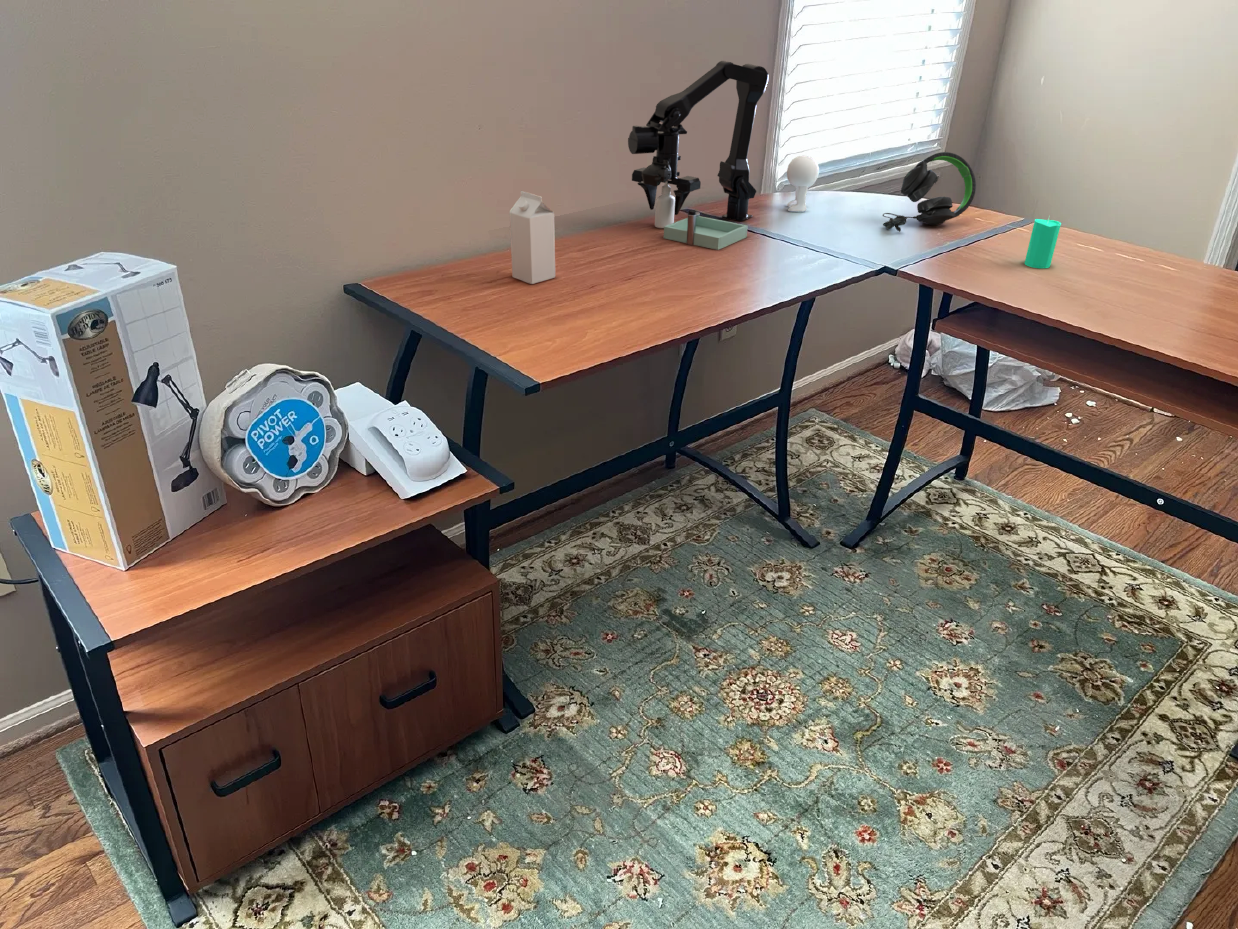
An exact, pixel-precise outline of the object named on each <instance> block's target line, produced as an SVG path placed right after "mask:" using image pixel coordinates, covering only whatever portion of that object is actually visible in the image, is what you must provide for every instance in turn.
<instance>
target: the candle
mask: <svg viewBox="0 0 1238 929" xmlns="http://www.w3.org/2000/svg"><path fill="white" fill-rule="evenodd" d="M1050 216H1051V215H1050V214H1049V215H1048V219H1042V218H1035V219H1034V221H1033V226H1032V230H1031V234H1030V239H1029V243H1028V247H1027V251H1026V255H1025V259H1024V263H1023V264H1024V265H1025V266H1027V267H1029V268H1032V269H1033V268H1034V269H1039V270H1040V269H1044V270H1045V269H1050V268H1051V265H1052V261H1053V257H1054V254H1055V250H1056V246H1057V243H1058V242H1057V241H1058V238H1059V233H1060V230H1061V226H1062V222H1061V221H1058V220H1054V219H1050Z"/></svg>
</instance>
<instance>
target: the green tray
mask: <svg viewBox="0 0 1238 929" xmlns="http://www.w3.org/2000/svg"><path fill="white" fill-rule="evenodd" d="M687 222H688V217H685V218H682V219H680V220H678V221H674V223H672V224H669V225H667V226H664V228H663V239H665V240H670V241H675V242H679V243H684V244H686V242H687ZM748 228H749V227H748V225H747V224H742V223H736V222H731V221H727V220H721V219H717V218H713V217H705V216H702V215H700V216H699V217H697V218H696V232H695V233H694V245H693V246H698V247H702V248H706V249H711V250H715V251H716V250H717V251H719V250H722V249H723V248H726V247H728V246H730V245H732V244H734V243H737V242H739V241H742V240H744V239H746V238H748Z"/></svg>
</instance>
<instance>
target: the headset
mask: <svg viewBox="0 0 1238 929" xmlns="http://www.w3.org/2000/svg"><path fill="white" fill-rule="evenodd" d="M936 161H944V162H947V163H949V164H951V165H953V166H954V167H955V168H957V170H958V172H959V174H960V176H961V178H963V181H964V195H963V199H962V201H961V203H960V204H959V205H958V207H956V209H955V210H954V211H952V210H951V208H953V200H952V198H951V197H950V196H936V197H932V198H928V199H927V198H926V199H924V200H922V199H923V198H924V197H925V196H926V195H927V194H929V193H928V192H930V191H931V189H932V187H933V186H934V185H935V184H936V183H937V182H938V181H939V179H940V178H939V177H940V176H939V175H937V173H936V172H935V171H933V170H932V169H928V163H930V162H936ZM976 190H977V182H976V176H975V173H974V170H973V168H972V167H971V165H970V164H969V163H968V161H966V159H965V158H964V157H962V156H961V155H958V154H956V153H954V152H949V151H940V152H937V153H933V154H931V155H929V156H928V157H925V158H924V159H922V160H921V161H919V162H918V163H917V164H916V165H915V166H914V167H913V168H911V169H910V170H909V171H908V172H907V173H906V175H905V176H904V178H903V180H902V183H901V187H900V194H901V195H903V196H906V197H907V198H908V199H909V200H910V201H911V202H912V203H917V202H918V203H917V204H916V210H917V213H918V214H917V215H916V216H915V215H914V216H905V215H899V214H895V213H890V212H884V213H882V215H881V216H882V217H884V218H887V219H889V220H888V221H885V222H883V223H882V226H883V227H885V228H886V229H887V230H892V228H893V227H894V228H895V230H896V231H897V232H899V233H901V232H902V228H901V227H900V226H904V225H906V223H907V220H908V219H914V220H916V221H918V222H919V223H923V224H926V225H928V226H938V225H941V224H944V223H946V222H947V221H948V220H952V219H954V218H957V217H959V216H961V215H962V214H963V213H964V212H965V211H966V210H967V209H968V208H969V207H970V206H971V204H972V203H973V200H974V198H975V195H976ZM919 201H920V202H919ZM886 215H891V216H894V218H893V217H890V216H886Z"/></svg>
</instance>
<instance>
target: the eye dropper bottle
mask: <svg viewBox="0 0 1238 929" xmlns="http://www.w3.org/2000/svg"><path fill="white" fill-rule="evenodd" d="M671 191H672V186H670V184H668V182H665V183H664V185H662V186H661V194H660V195H659V196H658V197H656V199H655V213H654V227H655V228H657V229H664V226H667V225H669V224H672V223H675V211H674V209H675V195H672V192H671Z"/></svg>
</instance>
